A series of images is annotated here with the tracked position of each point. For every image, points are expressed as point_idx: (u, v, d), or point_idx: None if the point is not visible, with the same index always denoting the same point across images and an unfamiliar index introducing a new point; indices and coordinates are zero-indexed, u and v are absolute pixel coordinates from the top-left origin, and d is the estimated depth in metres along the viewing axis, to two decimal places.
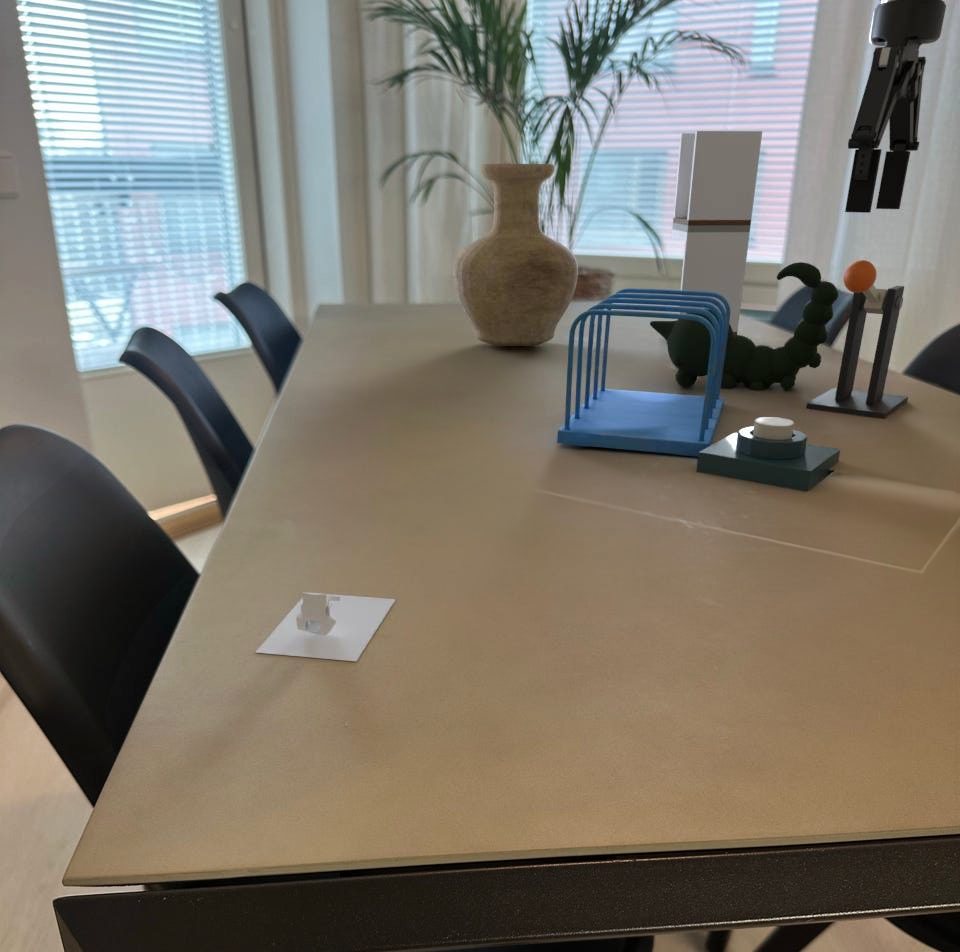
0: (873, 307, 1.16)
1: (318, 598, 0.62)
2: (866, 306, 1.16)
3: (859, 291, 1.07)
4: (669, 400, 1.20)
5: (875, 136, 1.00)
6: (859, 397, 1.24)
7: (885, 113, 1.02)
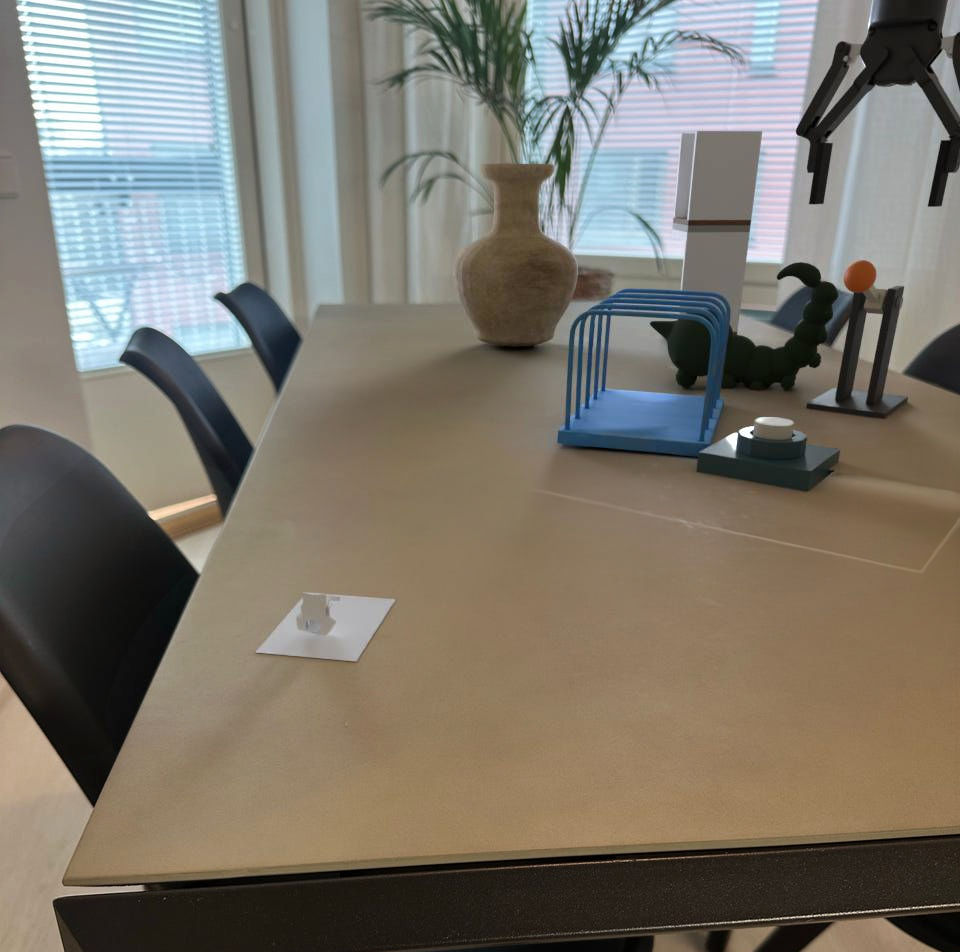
0: (873, 307, 1.16)
1: (318, 598, 0.62)
2: (866, 306, 1.16)
3: (859, 291, 1.07)
4: (669, 400, 1.20)
5: None
6: (859, 397, 1.24)
7: (951, 103, 0.99)
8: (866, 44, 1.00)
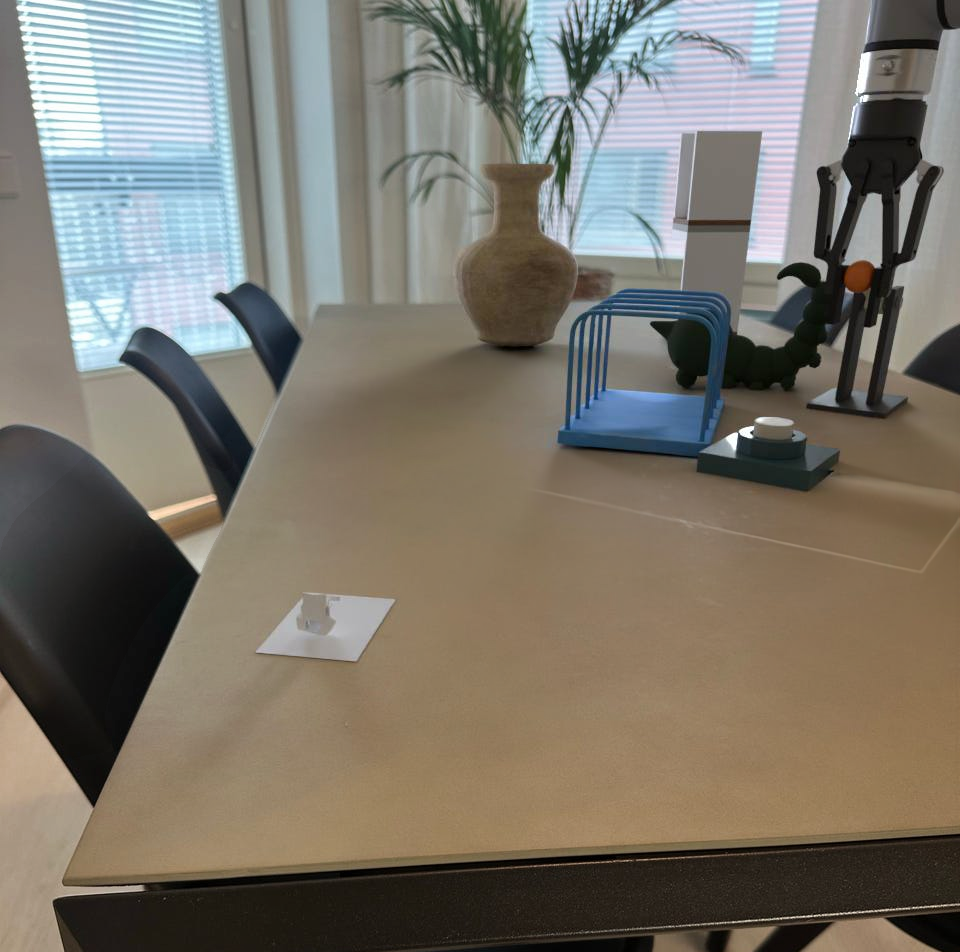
0: None
1: (318, 598, 0.62)
2: (866, 306, 1.16)
3: (859, 291, 1.07)
4: (670, 400, 1.20)
5: None
6: (859, 397, 1.24)
7: (898, 229, 1.04)
8: (847, 154, 1.03)
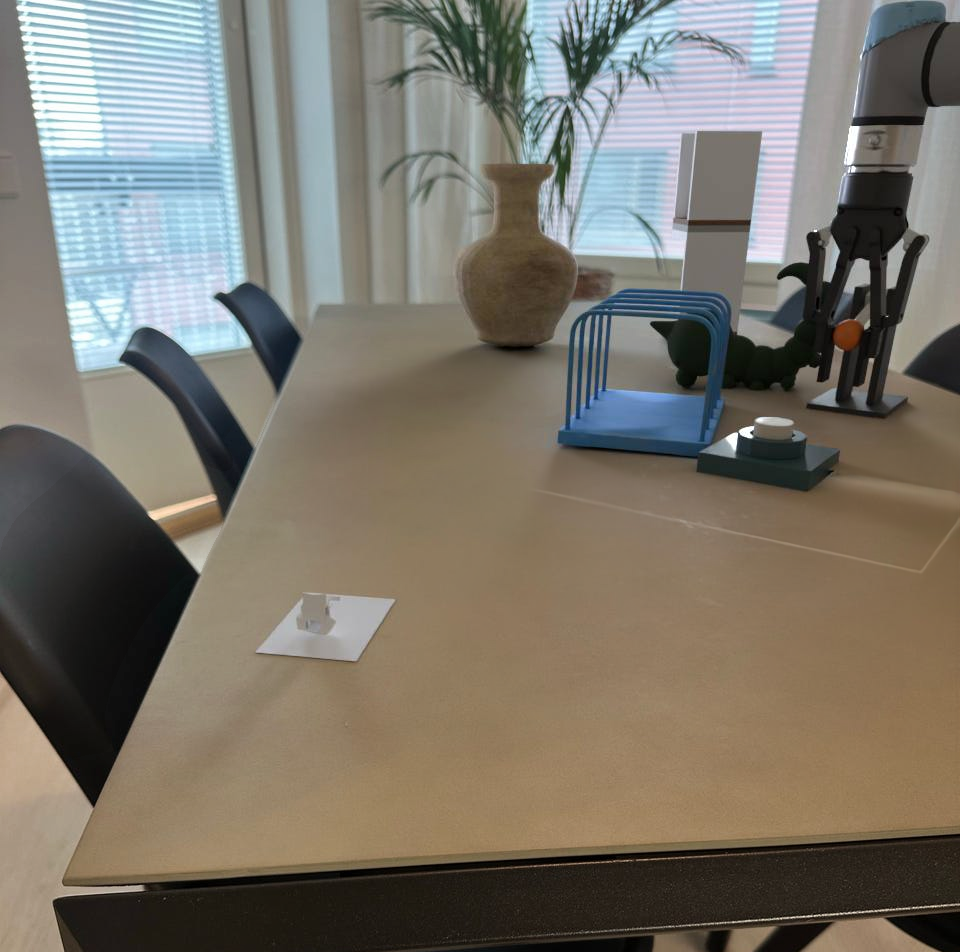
0: None
1: (318, 598, 0.62)
2: None
3: None
4: (670, 400, 1.20)
5: None
6: (859, 397, 1.24)
7: (885, 293, 1.07)
8: (835, 221, 1.06)
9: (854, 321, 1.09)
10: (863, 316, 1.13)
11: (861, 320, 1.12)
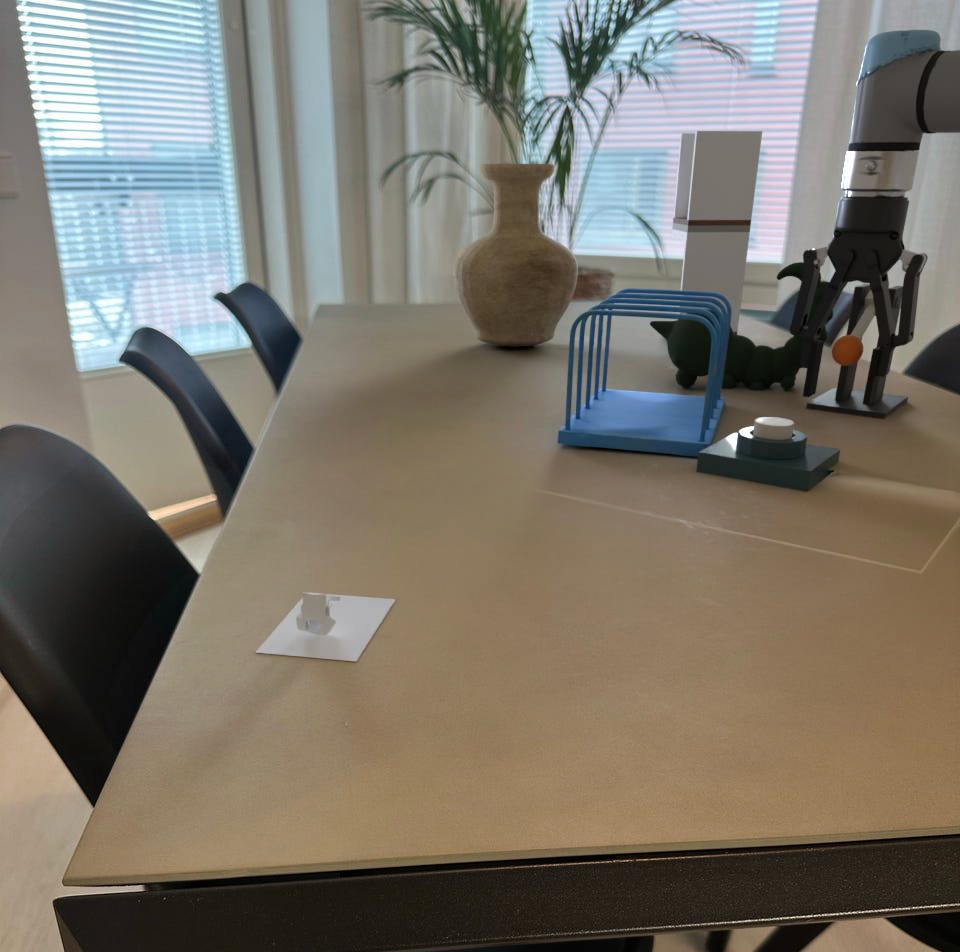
0: None
1: (318, 598, 0.62)
2: None
3: None
4: (670, 400, 1.20)
5: None
6: (859, 397, 1.24)
7: (891, 312, 1.08)
8: (832, 244, 1.07)
9: (852, 338, 1.10)
10: (862, 325, 1.13)
11: (860, 331, 1.13)
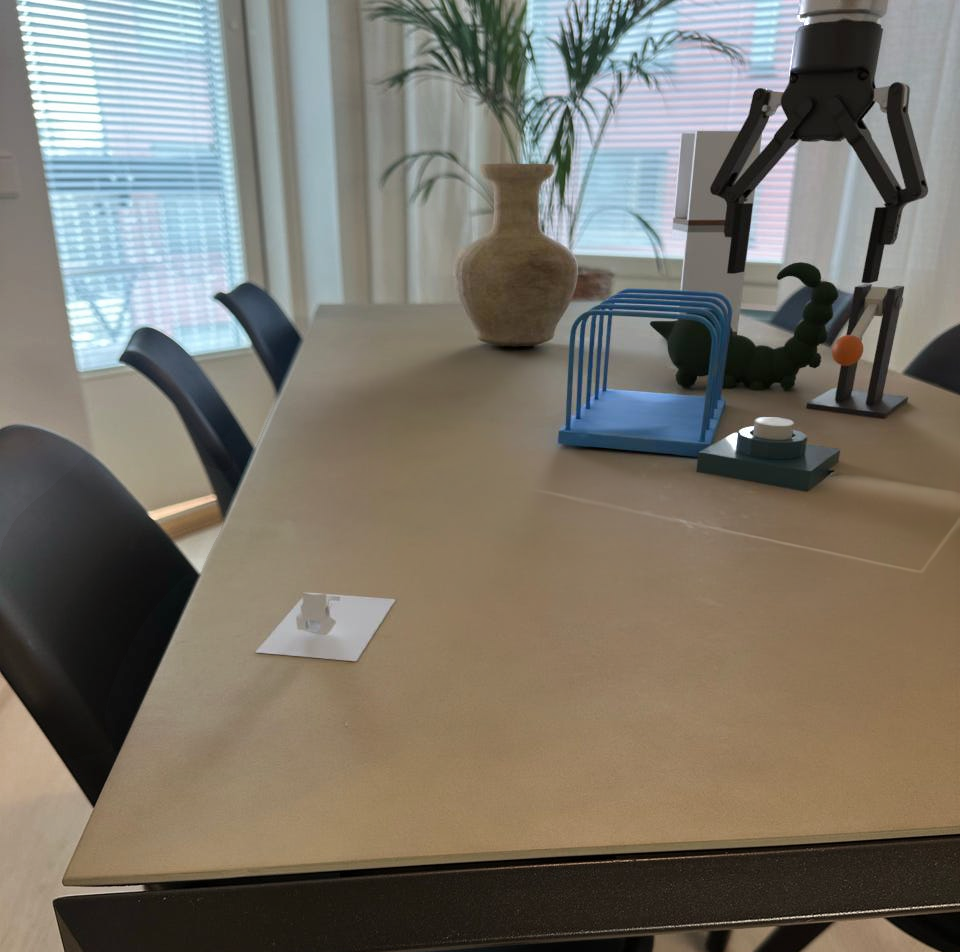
0: None
1: (318, 598, 0.62)
2: None
3: None
4: (671, 400, 1.20)
5: None
6: (859, 397, 1.24)
7: (886, 164, 0.84)
8: (787, 92, 0.85)
9: (852, 338, 1.10)
10: (862, 325, 1.13)
11: (860, 331, 1.13)
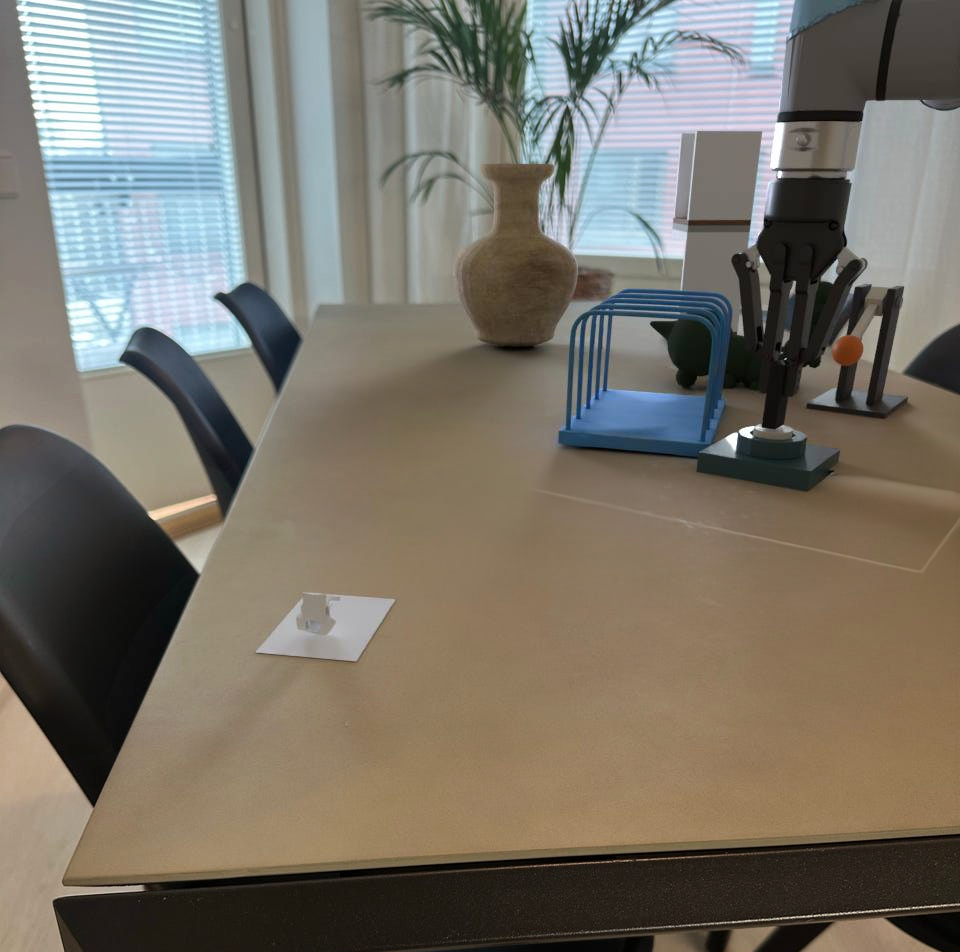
0: None
1: (318, 598, 0.62)
2: None
3: None
4: (671, 400, 1.20)
5: None
6: (859, 397, 1.24)
7: (810, 323, 0.91)
8: (762, 236, 0.89)
9: (852, 338, 1.10)
10: (862, 325, 1.13)
11: (860, 331, 1.13)
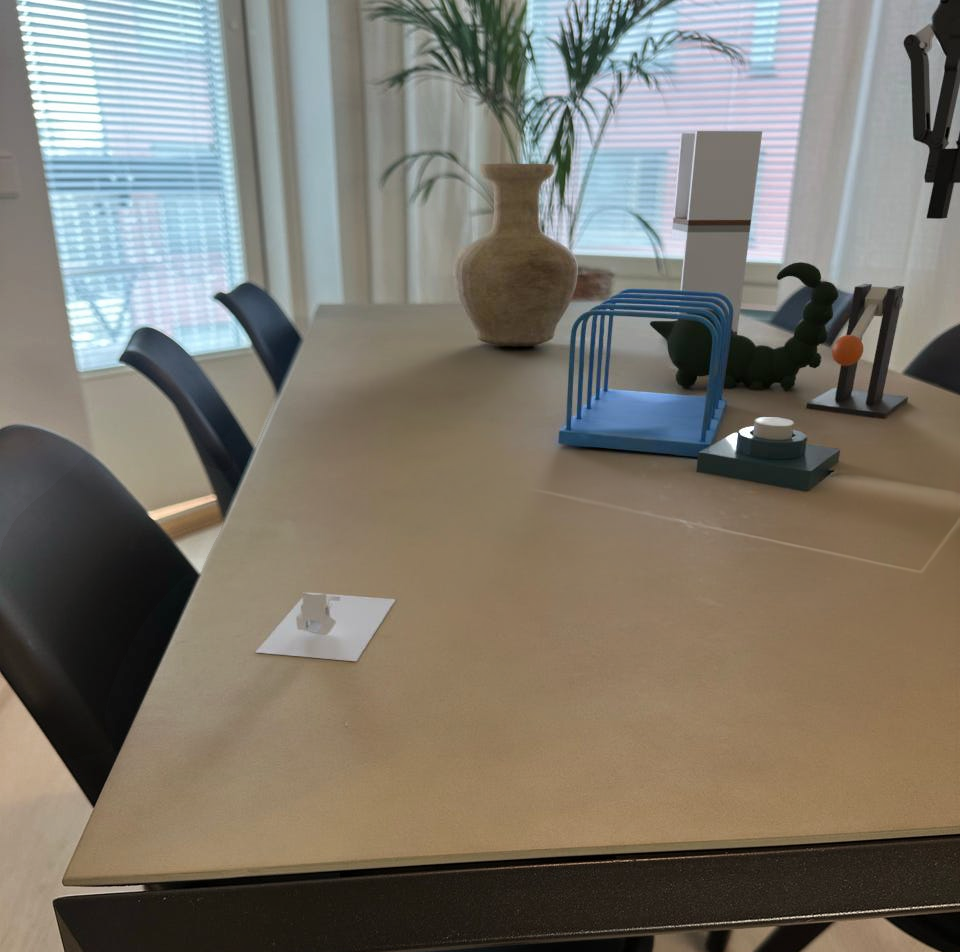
0: None
1: (318, 598, 0.62)
2: None
3: None
4: (672, 400, 1.20)
5: None
6: (859, 397, 1.24)
7: None
8: (939, 12, 0.89)
9: (852, 338, 1.10)
10: (862, 325, 1.13)
11: (860, 331, 1.13)
